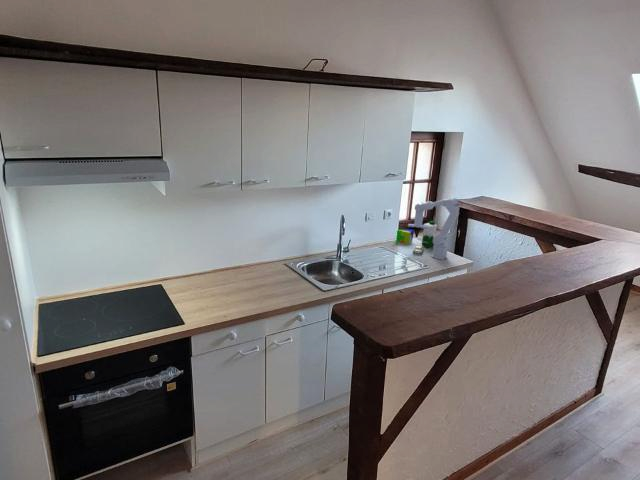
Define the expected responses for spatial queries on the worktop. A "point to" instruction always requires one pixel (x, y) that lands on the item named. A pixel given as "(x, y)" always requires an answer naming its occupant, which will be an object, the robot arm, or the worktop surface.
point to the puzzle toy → (404, 236)
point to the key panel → (418, 251)
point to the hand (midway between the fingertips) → (416, 237)
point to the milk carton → (429, 234)
